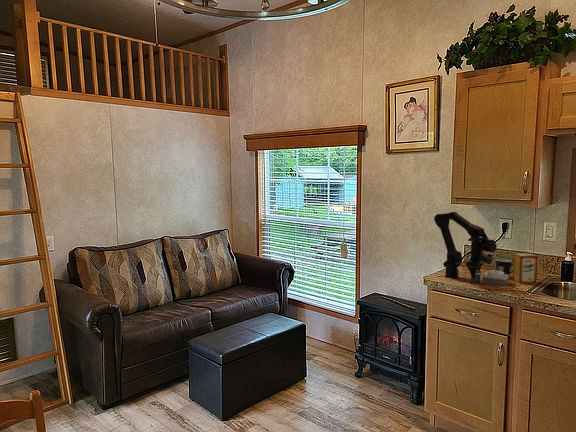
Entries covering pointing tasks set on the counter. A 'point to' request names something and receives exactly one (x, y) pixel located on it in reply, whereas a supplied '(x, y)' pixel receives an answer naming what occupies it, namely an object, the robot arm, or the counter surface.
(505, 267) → the coffee mug
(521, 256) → the baking soda box
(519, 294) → the counter surface
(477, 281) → the lens
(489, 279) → the octagonal ring tray
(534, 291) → the counter surface
